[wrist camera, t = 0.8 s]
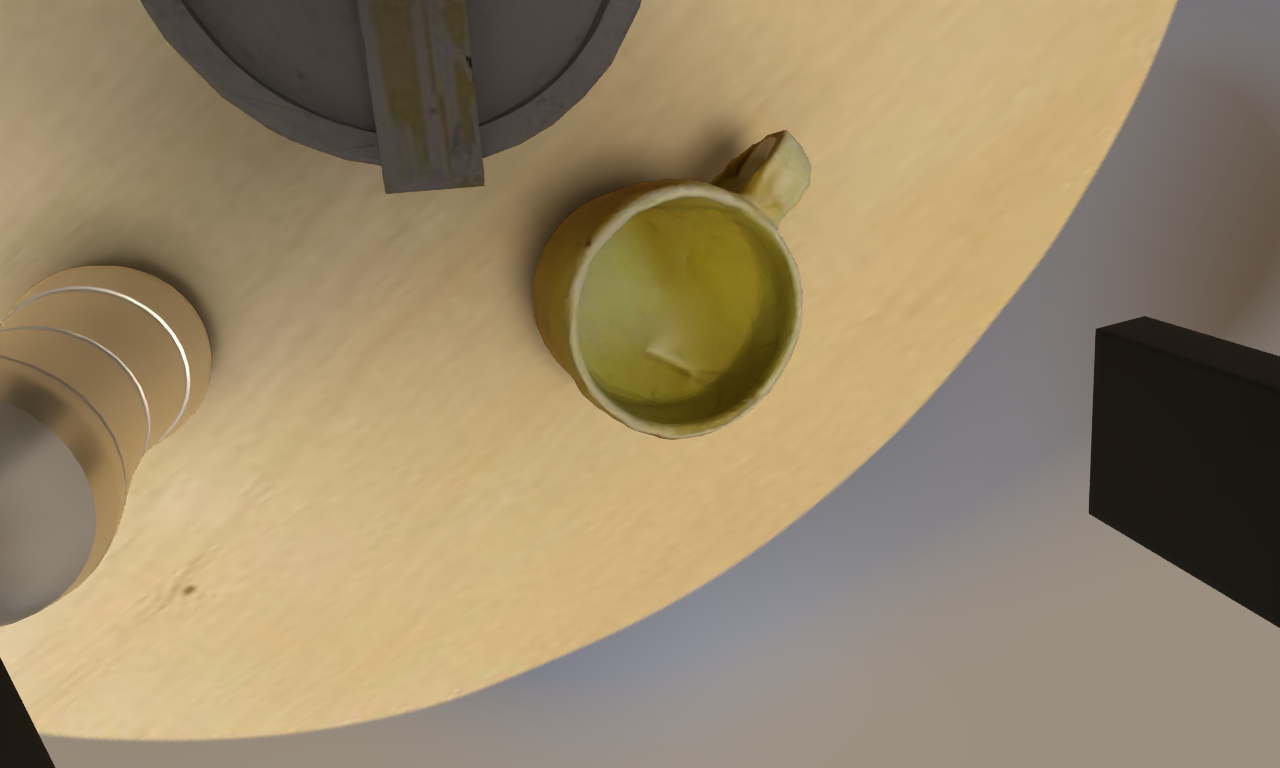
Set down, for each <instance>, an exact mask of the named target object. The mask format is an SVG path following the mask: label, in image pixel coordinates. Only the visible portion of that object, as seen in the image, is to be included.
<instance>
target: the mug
mask: <svg viewBox="0 0 1280 768" xmlns="http://www.w3.org/2000/svg"><path fill="white" fill-rule="evenodd" d="M810 172H811V165H810V162H809V160H808V157H807V156H806V154H805V153H804V150H803V148H802V146H801V145H800V144H799V143H798V142H797V140H796V139H795V138H794V137H793V136H792V135H791V134H790V133H789V132H788V131H787V130H783V131H780V132H777V133H773V134H771V135H767V136H766V137H765V138H764V139H763V140H761V141H760V142H758V143H756V144H753V145H752V146H751V147H750V148H748V149H747V150H746V151H745V152H743V153H742V154H741V155H739V156H738V157H737V158H735V159H732V161H731V162H730V163H729V164H728V165H727V167H726V168H725V170H724V171H723V172H722V173H720V174H719V175H718V176H717V177H715V178H714V179H713V181H712V182H711V183H710V184H708V183H704V182H701V181H696V180H688V179H663V180H655V181H648V182H641V183H637V184H634V185H632V186H629V187H626V188H624V189H621V190H618V191H615V192H611V193H609V194H606V195H603V196H600V197H598V198H595V199H593V200H591V201H589V202H587V203H585V204H584V205H582V206H580V207H579V208H577V209H576V210H575V211H574V212H573V213H571V214H570V215H569V216H568V217H567V218H566V219H565V220H564V221H563V222H562V224H561V225H560V226H559V227H558V228H557V230H556V231H555V233H554V234H553V235H552V237H551V238H550V240H549V241H548V242H547V244H546V246H545V247H544V249H543V251H542V253H541V255H540V258H539V261H538V264H537V268H536V273H535V278H534V285H533V298H534V311H535V317H536V322H537V325H538V328H539V330H540V333H541V335H542V338H543V340H544V343H545V344H546V346H547V348H548V349H549V351H550V352H551V354H552V355H553V357H554V358H555V359H556V361H557V362H558V363H559V364H560V365H561V366H562V367H563V368H564V369H565V370H566V371H567V372H568V373H569V374H570V375H571V376H572V378H573V379H574V381H575V382H576V384H577V386H578V388H579V390H580V391H581V393H582V394H583V395H584V396H585V397H586V398H587V399H588V400H590V401H591V402H592V403H593V404H594V405H595V406H596V407H598V408H599V409H601V410H603V411H604V412H606V413H607V414H608V415H610V416H611V417H612V418H614V419H616V420H617V421H619V422H621V423H623V424H625V425H626V426H627V427H629V428H631V429H633V430H636V431H639V432H642V433H645V434H649V435H654V436H656V437H659V438H663V439H670V440H675V439H683V438H691V437H697V436H702V435H705V434H708V433H712V432H714V431H716V430H719V429H721V428H723V427H725V426H727V425H729V424H731V423H732V422H734V421H736V420H737V419H739V418H741V417H742V416H744V415H745V414H746V413H748V412H749V411H750V410H751V409H752V408H753V407H754V406H755V405H757V404H758V403H759V402H760V401H761V400H762V399H763V398H764V397H765V396H766V395H767V394H768V393H769V392H770V390H771V389H772V387H773V386H774V384H775V383H776V382H777V380H778V379H779V377H780V375H781V374H782V372H783V370H784V369H785V367H786V365H787V363H788V362H789V360H790V358H791V355H792V352H793V350H794V347H795V345H796V343H797V340H798V337H799V332H800V328H801V323H802V303H803V291H802V285H801V279H800V274H799V271H798V267H797V264H796V262H795V261H794V258H793V256H792V254H791V252H790V250H789V249H788V247H787V246H786V244H785V242H784V240H783V239H782V237H781V235H780V234H779V232H778V229H777V228H778V224H779V222H780V221H781V219H782V218H783V217H784V216H785V215H786V214H787V213H788V212H789V211H790V210H791V209H792V208H793V207H794V206H796V204H797V203H798V202H799V200H800V199H801V197H802V196H803V194H804V192H805V191H806V189H807V187H808V186H809V183H810Z"/></svg>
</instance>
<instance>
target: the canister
mask: <svg viewBox="0 0 1280 768" xmlns="http://www.w3.org/2000/svg"><path fill="white" fill-rule="evenodd" d="M141 2H142V4H143V6H144V8H145V9H146V11H147V12H148V14H149V15H150V17H151V18H152V20H153V21H154V23H155V24H156V26H157V27H158V29H159V30H160V32H161V33H162V35H163V36H164V38H165V39H166V40H167V41H168V42H169V43H170V45H171V46H172V47H173V48H174V49H175V50H176V51H177V52H178V53H179V54H180V56H181V57H182V58H184V59H185V60H186V61H187V62H188V63H189V64H190V65H191V66H192V67H193V68H194V69H195V70H196V71H197V72H198V73H199V74H200V75H201V76H202V77H203V78H204V79H205V80H206V81H207V82H208V83H209V84H210V85H211V86H212V87H213V88H214V89H215V90H216V91H217V92H218V93H219V94H220V95H221V96H222V97H223V98H225V99H226V100H228V101H229V102H230V103H232V104H233V105H235V106H236V107H238V108H239V109H241V110H242V111H243V112H245V113H246V114H248V115H249V116H251V117H252V118H254V119H255V120H257V121H258V122H259V123H261V124H262V125H264V126H265V127H267V128H268V129H270V130H272V131H274V132H276V133H278V134H280V135H282V136H284V137H286V138H287V139H289V140H292V141H294V142H297V143H300V144H302V145H305V146H308V147H310V148H313V149H316V150H319V151H322V152H324V153H327V154H330V155H333V156H336V157H339V158H342V159H345V160H349V161H356V162H362V163H369V164H375V165H381V166H382V173H383V180H384V187H385V193H386V194H391V193H403V192H415V191H427V190H440V189H452V188H464V187H476V186H484V182H485V180H484V169H483V160H482V158H485V157H488V156H490V155H493V154H495V153H498V152H501V151H503V150H506V149H509V148H511V147H514V146H517V145H519V144H521V143H523V142H524V141H526V140H528V139H530V138H531V137H533V136H535V135H536V134H538V133H540V132H541V131H543V130H545V129H546V128H548V127H550V126H551V125H553V124H554V123H555V122H556V121H557V120H559V119H560V118H561V117H562V116H563V115H564V114H565V113H566V112H567V111H568V110H570V109H571V108H572V107H573V106H574V105H575V104H576V103H577V102H578V101H579V100H581V99H582V98H583V97H584V96H585V95H586V94H587V92H588V91H589V90H590V89H591V88H592V86H593V85H594V84H595V83H596V82H597V80H598V79H599V78H600V77H601V76H602V75H603V73H604V72H605V71H606V70H607V69H608V67H609V66H610V65H611V64H612V62H613V60H614V57H615V55H616V53H617V51H618V49H619V47H620V45H621V43H622V41H623V39H624V37H625V35H626V33H627V31H628V29H629V27H630V25H631V23H632V21H633V19H634V17H635V15H636V13H637V11H638V9H639V7H640V4H641V0H141Z"/></svg>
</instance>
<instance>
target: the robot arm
mask: <svg viewBox="0 0 1280 768" xmlns="http://www.w3.org/2000/svg"><path fill="white" fill-rule="evenodd" d="M1094 364H1095V365H1094V388H1093V414H1092V415H1093V416H1092V442H1091V467H1090V493H1089V514H1090V515H1092V516H1094V517H1095V518H1097V519H1099V520H1100V521H1102V522H1104V523H1105V524H1107V525H1109V526H1110V527H1112V528H1114V529H1115V530H1117V531H1119V532H1121V533H1122V534H1124V535H1126V536H1127V537H1129V538H1131V539H1132V540H1134V541H1136V542H1137V543H1139V544H1141V545H1142V546H1144V547H1146V548H1147V549H1149V550H1151V551H1152V552H1154V553H1156V554H1157V555H1159V556H1161V557H1162V558H1164V559H1166V560H1167V561H1169V562H1171V563H1172V564H1174V565H1176V566H1177V567H1179V568H1181V569H1182V570H1184V571H1186V572H1187V573H1189V574H1191V575H1192V576H1194V577H1196V578H1197V579H1199V580H1201V581H1202V582H1204V583H1206V584H1207V585H1209V586H1211V587H1212V588H1214V589H1216V590H1217V591H1219V592H1221V593H1223V594H1224V595H1226V596H1227V597H1229V598H1231V599H1232V600H1234V601H1236V602H1237V603H1239V604H1241V605H1242V606H1244V607H1246V608H1247V609H1249V610H1251V611H1253V612H1254V613H1256V614H1257V615H1259V616H1261V617H1263V618H1264V619H1266V620H1267V621H1269V622H1271V623H1272V624H1274V625H1276V626H1277V627H1279V628H1280V356H1276V355H1273V354H1270V353H1267V352H1263V351H1260V350H1257V349H1253V348H1250V347H1246V346H1243V345H1240V344H1236V343H1233V342H1230V341H1226V340H1223V339H1219V338H1216V337H1213V336H1210V335H1206V334H1203V333H1199V332H1196V331H1192V330H1189V329H1186V328H1183V327H1179V326H1176V325H1172V324H1169V323H1166V322H1162V321H1159V320H1156V319H1152V318H1149V317H1146V316H1144V317H1140V318H1136V319H1132V320H1128V321H1124V322H1121V323H1117V324H1113V325H1109V326H1105V327H1102V328H1097V329H1096V336H1095V363H1094ZM0 768H55V766H54V764H53V762H52V760H51V758H50V756H49V754H48V752H47V750H46V748H45V746H44V744H43V742H42V740H41V738H40V736H39V734H38V732H37V730H36V728H35V726H34V724H33V722H32V720H31V718H30V716H29V714H28V712H27V710H26V708H25V706H24V704H23V702H22V700H21V698H20V696H19V694H18V692H17V690H16V688H15V686H14V684H13V682H12V680H11V678H10V676H9V674H8V672H7V670H6V668H5V666H4V664H3V662H2V660H1V658H0Z"/></svg>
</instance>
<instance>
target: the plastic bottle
mask: <svg viewBox="0 0 1280 768" xmlns="http://www.w3.org/2000/svg"><path fill="white" fill-rule="evenodd" d="M210 368H211V353H210V344H209V339H208V336H207V333H206V330H205V327H204V324H203V323H202V321H201V319H200V317H199V315H198V314H197V312H196V310H195V309H194V308H193V307H192V306H191V304H190V303H189V302H188V301H187V300H186V298H185V297H184V296H183V295H181V294H180V293H179V292H178V291H177V290H175V289H174V288H173V287H172V286H170V285H169V284H167V283H165V282H164V281H162V280H160V279H158V278H157V277H155V276H153V275H150V274H147V273H145V272H142V271H139V270H137V269H131V268H126V267H120V266H83V267H78V268H72V269H66V270H64V271H61V272H59V273H56V274H53V275H51V276H48V277H47V278H45V279H44V280H42V281H41V282H39V283H37V284H36V285H34V286H33V287H32V288H31V289H30V290H29V291H28V292H27V293H26V294H25V295H24V296H23V297H22V298H21V299H20V300H19V301H18V302H17V303H16V305H15V306H14V307H13V308H12V309H11V310H10V311H9V313H8V314H7V316H6V318H5V320H4V321H3V323H2V324H1V325H0V627H1V626H4V625H8V624H12V623H15V622H17V621H20V620H22V619H24V618H26V617H29V616H31V615H33V614H35V613H38V612H39V611H41V610H43V609H45V608H46V607H48V606H50V605H51V604H53V603H55V602H57V601H58V600H60V599H61V598H63V597H64V596H66V595H67V594H68V593H70V592H71V591H73V590H74V589H76V588H77V587H79V586H80V585H81V584H82V583H83V582H84V581H85V580H86V579H87V578H88V577H89V576H90V575H91V573H92V572H93V571H94V570H95V569H96V568H97V567H98V565H99V564H100V562H101V560H102V559H103V557H104V555H105V554H106V552H107V551H108V549H109V547H110V545H111V542H112V540H113V538H114V536H115V534H116V532H117V529H118V526H119V523H120V520H121V517H122V514H123V510H124V505H125V502H126V498H127V494H128V490H129V486H130V483H131V479H132V476H133V474H134V472H135V470H136V468H137V466H138V464H139V462H140V460H141V458H142V456H143V455H144V454H145V453H146V452H147V451H148V450H149V449H150V448H151V447H152V446H153V445H155V444H157V443H159V442H160V441H162V440H163V439H165V438H166V437H168V436H169V435H171V434H172V433H173V432H175V431H176V430H177V429H178V428H180V427H181V426H182V425H183V424H184V423H185V422H186V421H187V420H188V419H189V418H190V417H191V416H192V415H193V414H194V413H195V412H196V410H197V408H198V407H199V405H200V403H201V402H202V400H203V399H204V396H205V393H206V390H207V387H208V384H209V378H210Z"/></svg>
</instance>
